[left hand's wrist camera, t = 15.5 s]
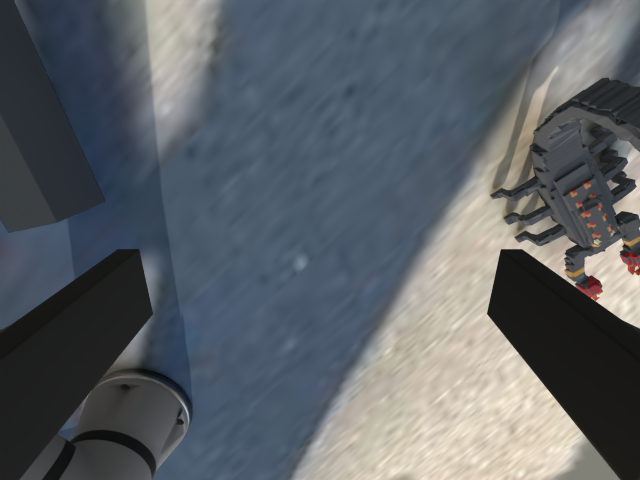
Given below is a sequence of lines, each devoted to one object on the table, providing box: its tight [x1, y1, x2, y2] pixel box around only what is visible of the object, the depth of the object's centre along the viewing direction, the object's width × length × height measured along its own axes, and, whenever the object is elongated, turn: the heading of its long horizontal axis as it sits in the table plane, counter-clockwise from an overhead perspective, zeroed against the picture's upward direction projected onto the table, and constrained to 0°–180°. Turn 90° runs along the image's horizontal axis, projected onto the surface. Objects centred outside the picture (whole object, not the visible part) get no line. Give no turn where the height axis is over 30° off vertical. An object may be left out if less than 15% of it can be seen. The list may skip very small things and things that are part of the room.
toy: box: [490, 78, 640, 301], centre depth 31 cm, size 13×27×18 cm, turn 37°
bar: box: [0, 0, 105, 233], centre depth 33 cm, size 21×5×8 cm, turn 12°
